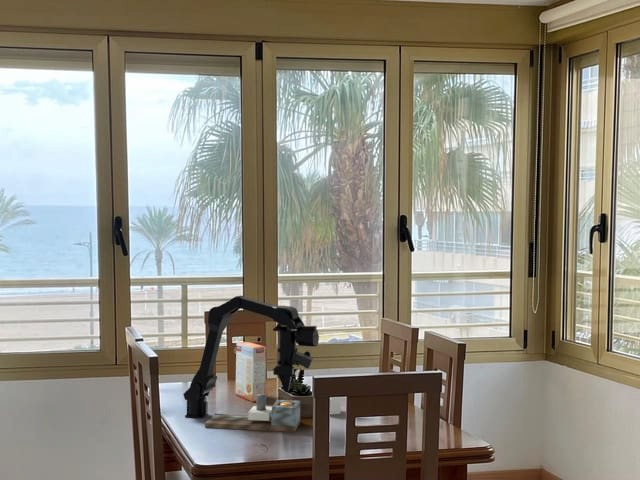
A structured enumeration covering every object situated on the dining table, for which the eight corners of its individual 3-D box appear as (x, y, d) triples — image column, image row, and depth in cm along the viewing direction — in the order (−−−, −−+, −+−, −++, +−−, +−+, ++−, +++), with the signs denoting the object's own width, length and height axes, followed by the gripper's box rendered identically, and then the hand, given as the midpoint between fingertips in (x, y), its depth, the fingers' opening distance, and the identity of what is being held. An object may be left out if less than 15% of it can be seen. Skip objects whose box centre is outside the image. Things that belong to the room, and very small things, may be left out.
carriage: (247, 419, 232) (248, 397, 232) (253, 412, 241) (253, 391, 241) (268, 420, 231) (269, 398, 231) (273, 413, 240) (274, 392, 240)
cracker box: (266, 400, 270) (266, 346, 270) (252, 402, 266) (253, 347, 266) (248, 393, 281) (249, 341, 281) (234, 395, 278) (235, 342, 278)
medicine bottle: (314, 411, 255) (315, 378, 255) (332, 409, 258) (333, 376, 258) (322, 416, 249) (323, 382, 249) (340, 414, 252) (341, 380, 251)
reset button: (279, 410, 233) (279, 404, 233) (281, 407, 237) (281, 401, 237) (291, 411, 233) (291, 405, 233) (293, 408, 237) (293, 402, 237)
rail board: (205, 427, 232) (205, 404, 232) (214, 417, 244) (214, 396, 244) (295, 431, 228) (295, 408, 228) (300, 421, 240) (300, 400, 240)
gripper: (307, 350, 224) (307, 399, 225) (314, 341, 243) (314, 386, 243) (273, 349, 226) (272, 397, 226) (282, 340, 244) (282, 385, 244)
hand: (286, 391), depth 235 cm, fingers closed
